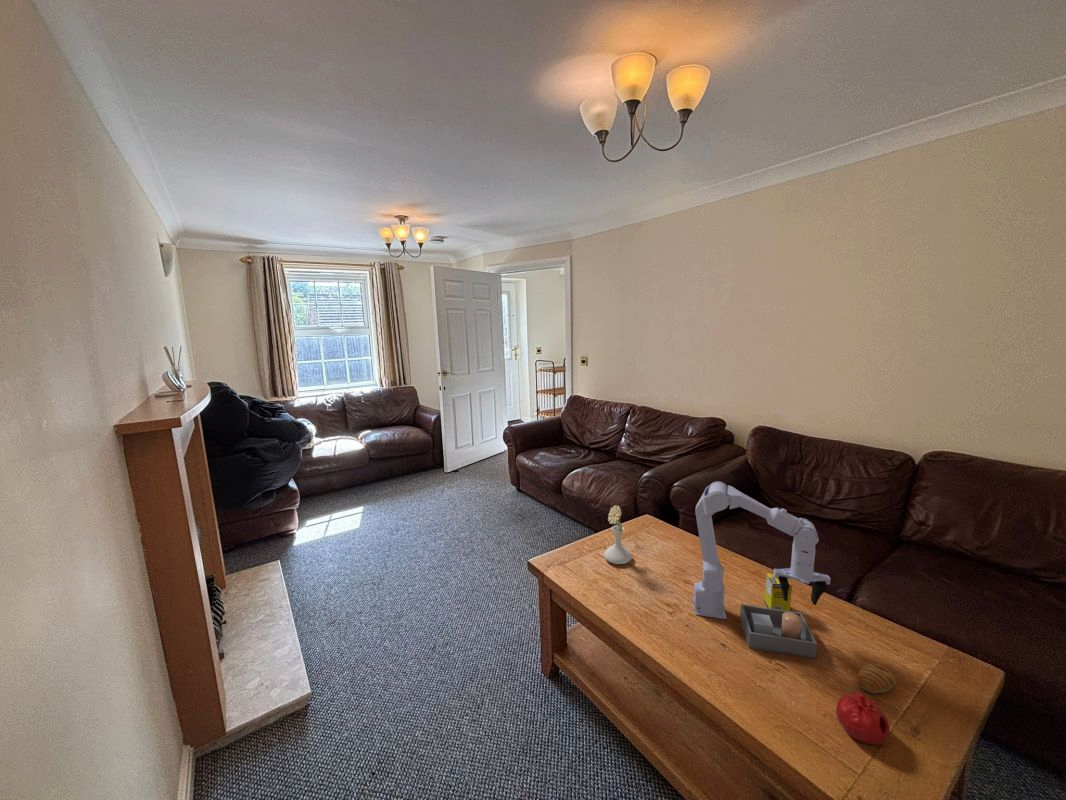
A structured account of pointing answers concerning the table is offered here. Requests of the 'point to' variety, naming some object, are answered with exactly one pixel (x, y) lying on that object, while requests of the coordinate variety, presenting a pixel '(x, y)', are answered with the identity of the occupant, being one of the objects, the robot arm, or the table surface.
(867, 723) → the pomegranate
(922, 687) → the table surface
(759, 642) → the charcoal tote
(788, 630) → the tan rounded cylinder
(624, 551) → the flower in vase
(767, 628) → the slate-blue block
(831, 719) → the table surface
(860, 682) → the pastry
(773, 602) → the supplement box
